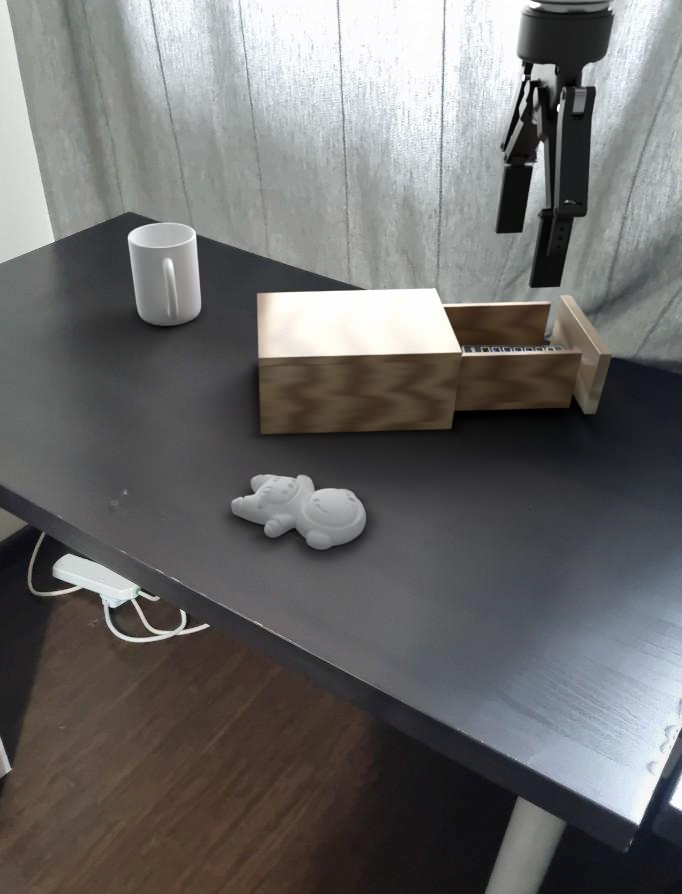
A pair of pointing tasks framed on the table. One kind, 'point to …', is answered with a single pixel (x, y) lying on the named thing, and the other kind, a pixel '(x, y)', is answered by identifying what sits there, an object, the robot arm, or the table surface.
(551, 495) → the table surface
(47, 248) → the table surface
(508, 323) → the drawer
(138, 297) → the cup
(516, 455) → the table surface
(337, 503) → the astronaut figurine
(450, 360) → the cabinet
